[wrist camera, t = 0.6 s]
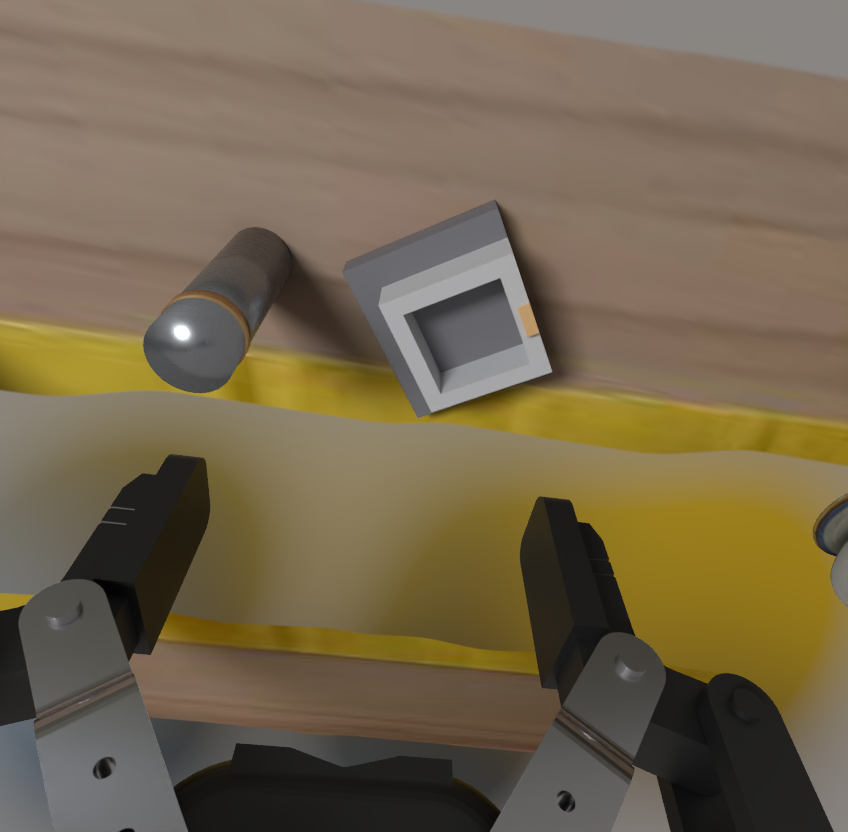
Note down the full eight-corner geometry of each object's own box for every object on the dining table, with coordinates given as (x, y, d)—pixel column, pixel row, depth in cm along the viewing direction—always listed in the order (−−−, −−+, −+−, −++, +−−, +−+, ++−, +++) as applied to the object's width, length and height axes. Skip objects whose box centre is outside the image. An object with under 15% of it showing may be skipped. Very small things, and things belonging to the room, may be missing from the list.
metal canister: (250, 299, 41) (179, 405, 29) (214, 241, 38) (121, 333, 27) (305, 276, 40) (253, 377, 28) (271, 215, 37) (199, 299, 26)
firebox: (418, 403, 46) (416, 444, 42) (346, 262, 39) (335, 292, 35) (547, 359, 43) (561, 398, 39) (495, 199, 37) (503, 224, 32)
